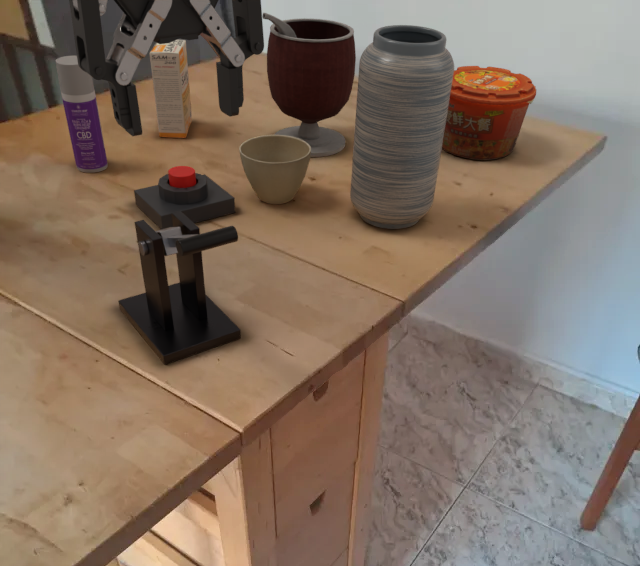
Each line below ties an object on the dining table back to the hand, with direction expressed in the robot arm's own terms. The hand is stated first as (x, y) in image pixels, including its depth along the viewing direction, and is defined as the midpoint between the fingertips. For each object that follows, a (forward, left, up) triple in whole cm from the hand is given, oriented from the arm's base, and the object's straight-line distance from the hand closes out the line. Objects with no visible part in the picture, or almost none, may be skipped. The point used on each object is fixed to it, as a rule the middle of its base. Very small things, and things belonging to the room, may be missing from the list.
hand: (182, 122), depth 55 cm
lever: (0, +2, -13) cm, 13 cm away
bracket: (0, +7, -24) cm, 25 cm away
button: (+13, +32, -20) cm, 40 cm away
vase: (+37, +16, -24) cm, 47 cm away
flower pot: (+26, +29, -24) cm, 46 cm away
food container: (+66, +29, -24) cm, 76 cm away
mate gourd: (+41, +44, -24) cm, 65 cm away
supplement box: (+25, +60, -24) cm, 70 cm away
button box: (+13, +32, -24) cm, 42 cm away
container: (+7, +52, -24) cm, 58 cm away
